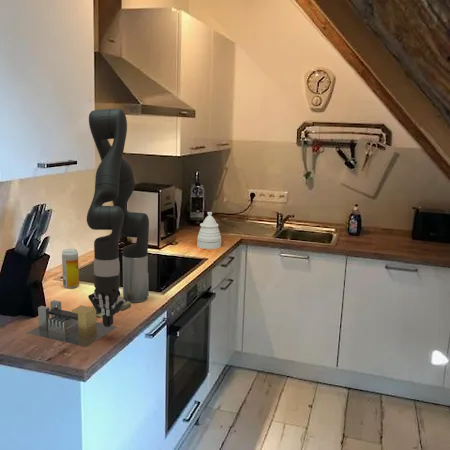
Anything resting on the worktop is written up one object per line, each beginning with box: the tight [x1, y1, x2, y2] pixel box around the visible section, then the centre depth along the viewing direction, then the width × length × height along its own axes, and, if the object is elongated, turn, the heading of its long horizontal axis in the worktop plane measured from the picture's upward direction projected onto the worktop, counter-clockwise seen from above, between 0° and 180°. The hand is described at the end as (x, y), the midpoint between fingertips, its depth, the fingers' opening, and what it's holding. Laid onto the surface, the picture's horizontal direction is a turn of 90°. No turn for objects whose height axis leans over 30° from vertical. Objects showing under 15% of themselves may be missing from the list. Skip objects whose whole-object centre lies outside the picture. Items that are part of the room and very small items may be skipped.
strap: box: [49, 307, 78, 320], centre depth 159 cm, size 3×14×1 cm, turn 68°
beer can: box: [61, 248, 80, 290], centre depth 200 cm, size 6×6×15 cm
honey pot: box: [196, 211, 222, 250], centre depth 269 cm, size 13×13×18 cm
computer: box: [91, 300, 132, 319], centre depth 178 cm, size 16×8×3 cm, turn 150°
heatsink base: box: [26, 299, 117, 348], centre depth 159 cm, size 16×22×8 cm
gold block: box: [71, 304, 97, 337], centre depth 157 cm, size 5×6×8 cm
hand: (108, 325), depth 154 cm, fingers closed
